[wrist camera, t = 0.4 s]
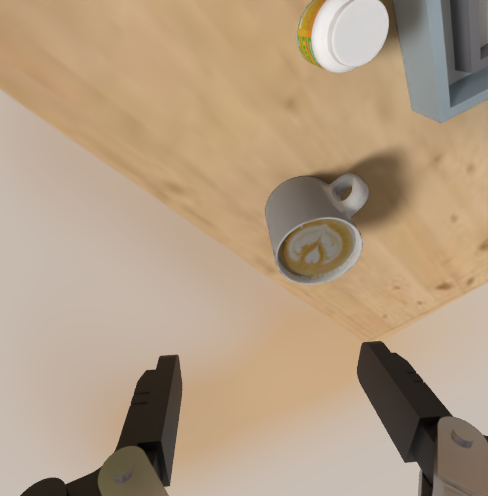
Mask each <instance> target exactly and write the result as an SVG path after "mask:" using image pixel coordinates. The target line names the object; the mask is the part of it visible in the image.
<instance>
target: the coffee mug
mask: <svg viewBox="0 0 488 496" xmlns="http://www.w3.org/2000/svg"><path fill="white" fill-rule="evenodd" d="M351 186H352V192H351V193H350V195H349V196H348V198H346V199H345V200H343V201H341V196H342V194H343V192H344V191H345V190H346V189H347V188H349V187H351ZM368 196H369V190H368V186H367V184H366V182H365V181H364V180H363V179H362V178H361V177H359V176H358V175H356V174H354V173H346V174H344V175H342V176H340V177H339V178H337V179H336V180H335V181H334V182H332V183H331V184H327V183H326V182H325V181H323V180H321V179H319V178H316V177H312V176H300V177H295V178H292V179H289V180H287V181H285V182H283V183H282V184H281V185H279V186H278V187H277V188H276V189H275V190H274V191H273V192H272V193H271V195H270V196H269V198H268V201H267V203H266V207H265V216H266V221H267V226H268V230H269V235H270V240H271V244H272V249H273V254H274V258H275V263H276V266H277V268H278V270H279V271H280V273H281V274H282V275H283V276H284V277H286V278H287V279H289V280H291V281H293V282H296V283H299V284H306V285H314V284H322V283H326V282H329V281H332V280H334V279H336V278H338V277H340V276H342V275H343V274H345V273H346V272H347V271H348V270H350V269H351V268H352V267H353V265H354V264H355V263H356V262H357V260H358V259H359V257H360V254H361V251H362V246H363V242H362V237H361V234H360V232H359V230H358V228H357V227H356V225H355V224H354V223H353V222H352V220H351V218H352V216H353V215H354V214H355V213H356V212H357V211H358V210H360V209H361V208H362V206H363V205H364V204H365V203H366V201H367V198H368Z"/></svg>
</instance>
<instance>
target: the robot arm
mask: <svg viewBox="0 0 488 496" xmlns="http://www.w3.org/2000/svg"><path fill="white" fill-rule="evenodd" d="M357 375H358V379H359V382H360V384H361V386H362V388H363V389H364V391H365V393H366V394H367V396H368V398H369V400H370V402H371V404H372V405H373V407H374V409H375V410H376V412H377V414H378V416H379V418H380V419H381V421H382V423H383V425H384V427H385V428H386V430H387V432H388V434H389V435H390V437H391V439H392V441H393V443H394V444H395V446H396V448H397V450H398V451H399V453H400V455H401V457H402V458H403V460H404V462H405V463H407V462H417V463H418V464H419V466H420V468H421V470H420V474H419V489H418V496H488V436H485V435H482V434H481V432H480V431H479V430H477V429H476V428H475V427H474V426H472V425H471V424H469V423H468V422H466V421H464V420H462V419H459V418H456V417H453V416H452V415H451V414H450V412H449V411H448V410H447V409H446V407H445V406H444V405H443V404H442V403H441V401H440V400H439V399H438V398H437V397H436V395H435V394H434V393H433V392H432V390H431V389H430V388H429V387H428V386H427V385H426V383H425V382H423V380H422V379H421V377H420V376H419V375H418V374H416V371H415V370H414V369H413V367H412V366H411V365H410V364H409V362H408V361H406V360H405V359H404V358H402V357H401V356H399V355H398V354H397V353H391V352H390V351H389V349H388V348H387V347H386V346H385V344H384V343H383V342H381V341H374V342H363V343H362V346H361V350H360V356H359V361H358V366H357ZM181 397H182V378H181V370H180V362H179V356H178V355H166V356H160V357H159V360H158V364H157V368H156V370H146V371H145V373H144V374H143V375H142V376H141V378H140V379H139V380H138V382H137V385H136V388H135V392H134V396H133V398H132V401H131V406H130V408H129V410H128V414H127V417H126V420H125V423H124V426H123V429H122V433H121V436H120V439H119V442H118V445H117V447H116V450H115V451H114V453H113V454H112V455H111V456H110V457H109V458H108V459H107V460H106V461H105V462H104V464H103V466H102V467H100V468H99V469H98V470H96V471H95V472H93V473H91V474H89V475H86V476H84V477H82V478H79V479H77V480H75V481H72V482H70V483H68V484H65V483H64V482H63V481H62V480H61V479H59V478H47V479H43V480H41V481H39V482H37V483H35V484H34V485H32V486H31V487H29V488H28V489H27V490H26V491H24V492H23V493H22V494H21V495H20V496H169V495H168V494H167V492H166V490H165V488H164V487H165V486H170V480H171V473H172V465H173V458H174V450H175V443H176V435H177V428H178V421H179V413H180V406H181Z"/></svg>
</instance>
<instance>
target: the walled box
mask: <svg viewBox="0 0 488 496" xmlns="http://www.w3.org/2000/svg"><path fill="white" fill-rule="evenodd" d="M393 4H394V10H395V16H396V22H397V27H398V33H399V39H400V44H401V50H402V56H403V62H404V67H405V73H406V79H407V85H408V90H409V96H410V102H411V107H412V110H413V111H415V112H417V113H419V114H421V115H424V116H426V117H428V118H430V119H432V120H435V121H437V122H439V123H442V122H444V121H446V120H448V119H450V118H452V117H454V116H456V115H458V114H460V113H462V112H464V111H466V110H468V109H470V108H472V107H474V106H476V105H478V104H480V103H481V102H483V101H485V100H487V99H488V0H393Z"/></svg>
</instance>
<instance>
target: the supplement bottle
mask: <svg viewBox="0 0 488 496" xmlns="http://www.w3.org/2000/svg"><path fill="white" fill-rule="evenodd" d="M388 28H389V17H388V13H387V10H386V8H385V6H384V5H383V3H382V2H381V1H380V0H313V1H311V2H310V3H309V4H308V5H307V7H306V8H305V9H304V11H303V12H302V14H301V16H300V19H299V22H298V26H297V31H296V40H297V45H298V48H299V51H300V53H301V54H302V56H303V57H304V58H305V59H306V60H307V61H308V62H310V63H312V64H314V65H316V66H318V67H321V68H323V69H325V70H328V71H330V72H334V73H345V72H349V71H351V70H354V69H355V68H357V67H359V66H361V65H364V64H366V63H367V62H369V61H370V60H372V59H373V58H374V57H375V56H376V55H377V54H378V52H379V51H380V49H381V48H382V46H383V44H384V42H385V40H386V37H387V34H388Z"/></svg>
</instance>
